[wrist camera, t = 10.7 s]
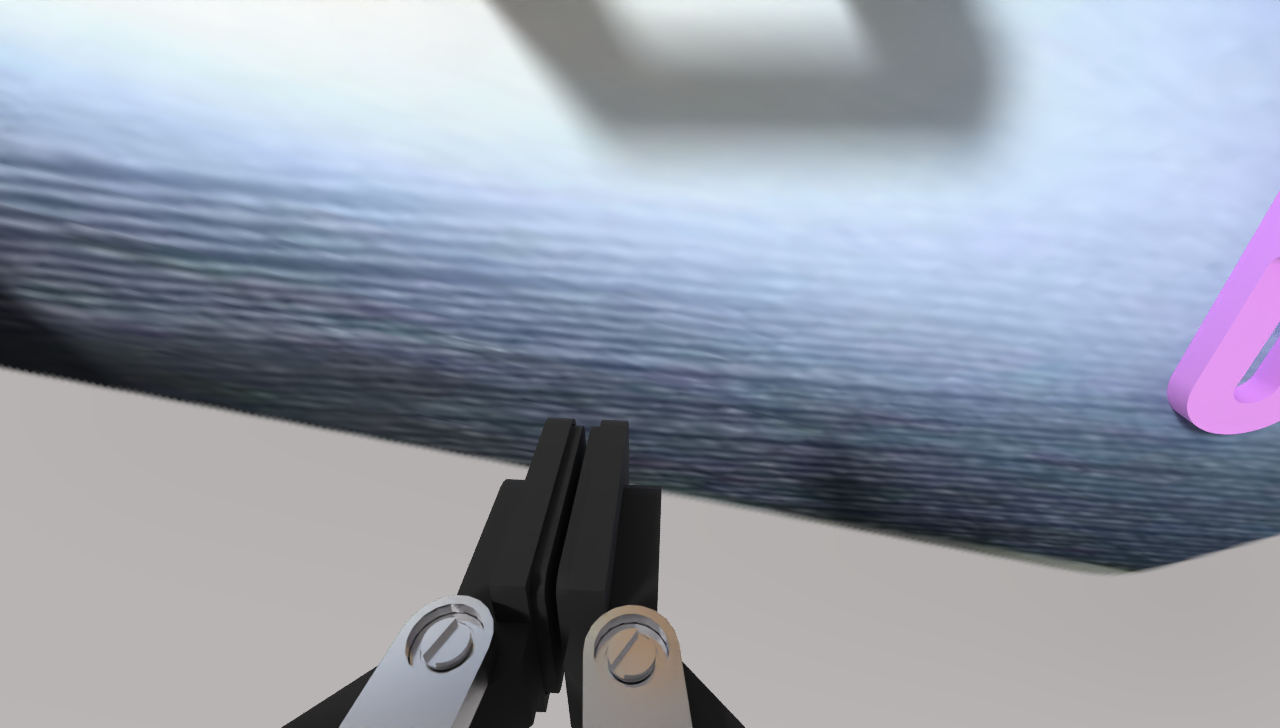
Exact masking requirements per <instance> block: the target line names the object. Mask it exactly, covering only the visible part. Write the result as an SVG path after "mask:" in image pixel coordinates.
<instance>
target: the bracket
mask: <svg viewBox="0 0 1280 728" xmlns="http://www.w3.org/2000/svg"><path fill="white" fill-rule="evenodd" d="M1279 322H1280V191H1279V193H1278V194H1277V196H1276V198H1275V200H1274V201H1273V203H1272V205H1271V206H1270V208H1269V210H1268V212H1267V213H1266V215H1265V217H1264V218H1263V220H1262V222H1261V224H1260V225H1259V227H1258V229H1257V230H1256V232H1255V234H1254V236H1253V237H1252V239H1251V241H1250V242H1249V244H1248V246H1247V248H1246V249H1245V251H1244V253H1243V254H1242V256H1241V258H1240V259H1239V261H1238V263H1237V265H1236V266H1235V268H1234V270H1233V271H1232V273H1231V275H1230V277H1229V278H1228V280H1227V282H1226V283H1225V285H1224V287H1223V289H1222V290H1221V292H1220V294H1219V295H1218V297H1217V299H1216V301H1215V302H1214V304H1213V306H1212V307H1211V309H1210V311H1209V313H1208V314H1207V316H1206V318H1205V319H1204V321H1203V323H1202V324H1201V326H1200V328H1199V330H1198V331H1197V333H1196V335H1195V336H1194V338H1193V340H1192V342H1191V343H1190V345H1189V347H1188V348H1187V350H1186V352H1185V354H1184V355H1183V357H1182V359H1181V360H1180V362H1179V364H1178V366H1177V367H1176V369H1175V371H1174V372H1173V374H1172V376H1171V378H1170V381H1169V384H1168V388H1167V397H1168V401H1169V403H1170V405H1171V406H1172V408H1173V409H1174V410H1175V411H1176V412H1178V413H1179V414H1180V415H1182V416H1183V417H1185V418H1186V419H1187V420H1189V421H1190V422H1191V423H1193V424H1194V425H1196V426H1197V427H1199V428H1200V429H1202V430H1204V431H1207V432H1210V433H1215V434H1239V433H1245V432H1250V431H1254V430H1258V429H1261V428H1264V427H1266V426H1269V425H1272V424H1274V423H1276V422H1278V421H1280V337H1279V338H1278V340H1277V341H1276V343H1275V344H1274V346H1273V347H1272V349H1271V350H1270V352H1269V353H1268V355H1267V356H1266V358H1265V359H1264V361H1263V362H1262V363H1261V365H1260V366H1259V368H1258V369H1257V371H1256V372H1255V374H1254V375H1253V376H1252V377H1251V378H1250V379H1249V380H1248V381H1247V382H1245V383H1244V384H1242V385H1240V386H1238V387H1236V386H1237V385H1238V383H1239V382H1240V380H1241V379H1242V377H1243V376H1244V374H1245V373H1246V371H1247V370H1248V368H1249V367H1250V365H1251V364H1252V362H1253V361H1254V359H1255V358H1256V356H1257V355H1258V353H1259V352H1260V350H1261V349H1262V347H1263V346H1264V344H1265V343H1266V341H1267V340H1268V338H1269V337H1270V335H1271V334H1272V332H1273V331H1274V329H1275V328H1276V326H1277V325H1278V323H1279Z"/></svg>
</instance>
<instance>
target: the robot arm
mask: <svg viewBox="0 0 1280 728" xmlns="http://www.w3.org/2000/svg"><path fill="white" fill-rule="evenodd" d="M661 487H662V486H642V485H629V424H628V421H619V420H602V421H601V425H600V427H595V426H592V427H591V429H590V434H589V438H588V443H587V447H586V439H585V428H584V426H576V422H575V419H569V418H547V420H546V422H545V425H544V428H543V431H542V434H541V436H540V439H539V442H538V445H537V448H536V451H535V453H534V456H533V459H532V462H531V465H530V467H529V470H528V473H527V476H526V479H525V480H511V479H506V480H505V481H504V482H503V484H502V486H501V487H500V490H499V492H498V495H497V497H496V500H495V502H494V505H493V507H492V510H491V512H490V515H489V517H488V520H487V522H486V525H485V527H484V529H483V532H482V534H481V537H480V540H479V542H478V544H477V547H476V549H475V552H474V554H473V557H472V559H471V562H470V564H469V567H468V569H467V572H466V574H465V576H464V579H463V582H462V584H461V586H460V589H459V591H458V594H457V595H453V596H448V597H444V598H440V599H437V600H435V601H433V602H431V603H429V604H427V605H425V606H424V607H423V608H421V609H420V610H419V611H417V612H416V613H415V614H414V615H412V617H411V618H410V619H409V620H408V622H407V623H406V624H405V625H404V626H403V628H402V629H401V631H400V632H399V634H398V635H397V637H396V639H395V640H394V642H393V643H392V645H391V646H390V648H389V650H388V651H387V653H386V654H385V656H384V657H383V659H382V661H381V662H380V664H379V665H378V666H377V667H375V668H374V669H372V670H371V671H369V672H367V673H366V674H364V675H363V676H361V677H359V678H358V679H356V680H355V681H353V682H352V683H350V684H349V685H347V686H345V687H344V688H342V689H341V690H339V691H338V692H336V693H335V694H333V695H332V696H330V697H328V698H327V699H325V700H324V701H322V702H321V703H319V704H318V705H316V706H314V707H313V708H311V709H310V710H308V711H307V712H305V713H303V714H302V715H300V716H299V717H297V718H296V719H294V720H293V721H291V722H290V723H288V724H286V725H285V726H283V727H282V728H529V727H530V726H532V725H533V723H534V718H535V714H536V712H546V709H547V704H548V699H549V694H550V693H559V692H560V690H561V686H562V681H563V676H564V672H565V680H566V688H567V696H568V704H569V713H570V721H571V727H572V728H745V727H744V726H743V725H742V724H741V723H740V722H739V720H738V719H736V717H735V716H734V715H733V714H732V713H731V712H730V711H729V710H728V709H727V708H726V707H725V706H724V705H723V704H722V703H721V702H720V701H719V700H718V699H717V697H716V696H715V695H714V694H713V693H712V692H711V691H710V690H709V689H708V688H707V687H706V686H705V685H704V684H703V683H702V682H701V681H700V680H699V679H698V678H697V677H696V676H695V674H694V673H692V671H691V670H690V669H689V668H688V667H687V666H686V665H685V664H684V663H683V662H682V658H681V652H680V646H679V642H678V639H677V636H676V633H675V630H674V629H673V627H672V626H671V625H670V624H669V622H668V621H667V619H666V618H664V617H663V616H662V615H660V614H659V613H658V612H657V601H658V573H659V544H660V515H661Z"/></svg>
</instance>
